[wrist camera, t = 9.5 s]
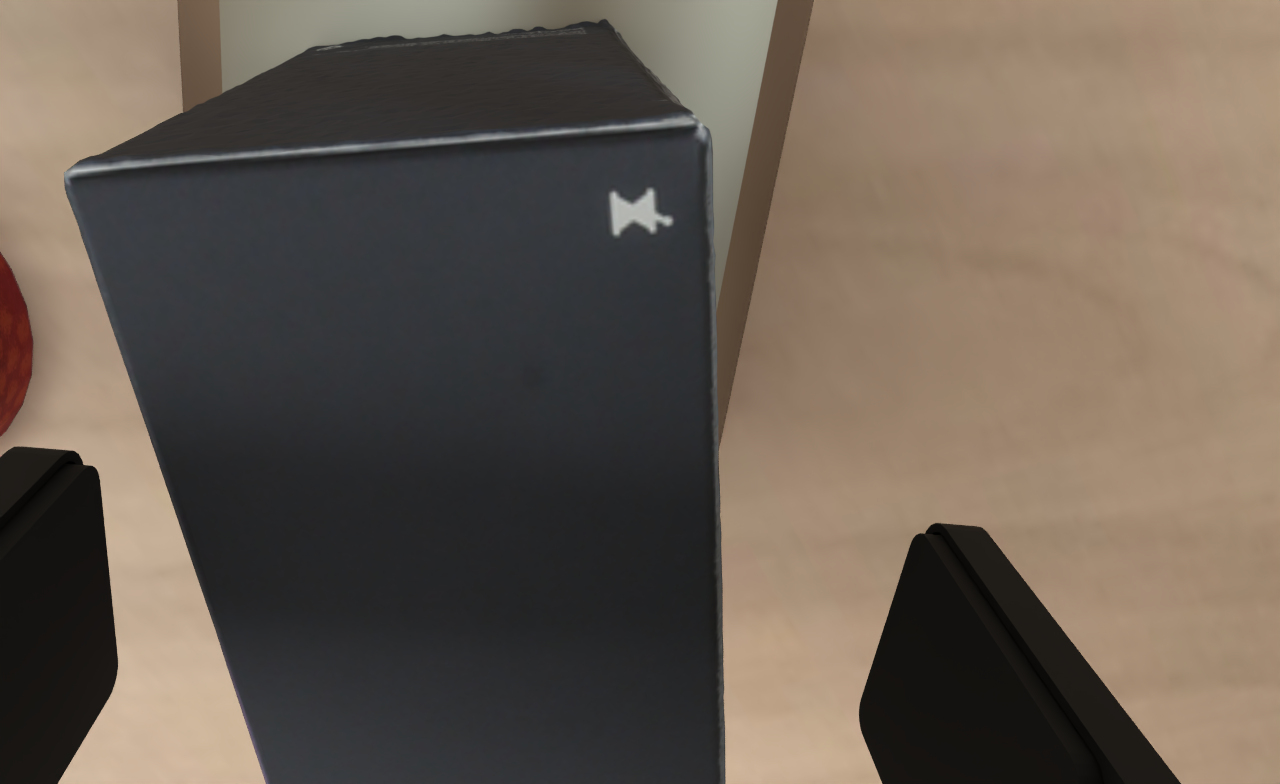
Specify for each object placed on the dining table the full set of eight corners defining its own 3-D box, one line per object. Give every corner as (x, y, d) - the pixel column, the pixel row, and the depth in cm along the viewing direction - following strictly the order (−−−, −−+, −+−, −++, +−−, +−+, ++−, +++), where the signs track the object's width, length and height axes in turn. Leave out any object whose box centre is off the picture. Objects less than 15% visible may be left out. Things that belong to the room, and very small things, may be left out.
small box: (278, 40, 17) (1, 147, 8) (622, 15, 18) (741, 86, 9) (380, 513, 22) (281, 933, 13) (651, 481, 23) (750, 861, 13)
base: (777, -73, 21) (834, -78, 18) (666, 510, 28) (690, 598, 24) (231, -171, 19) (162, -201, 16) (249, 484, 26) (204, 575, 22)
